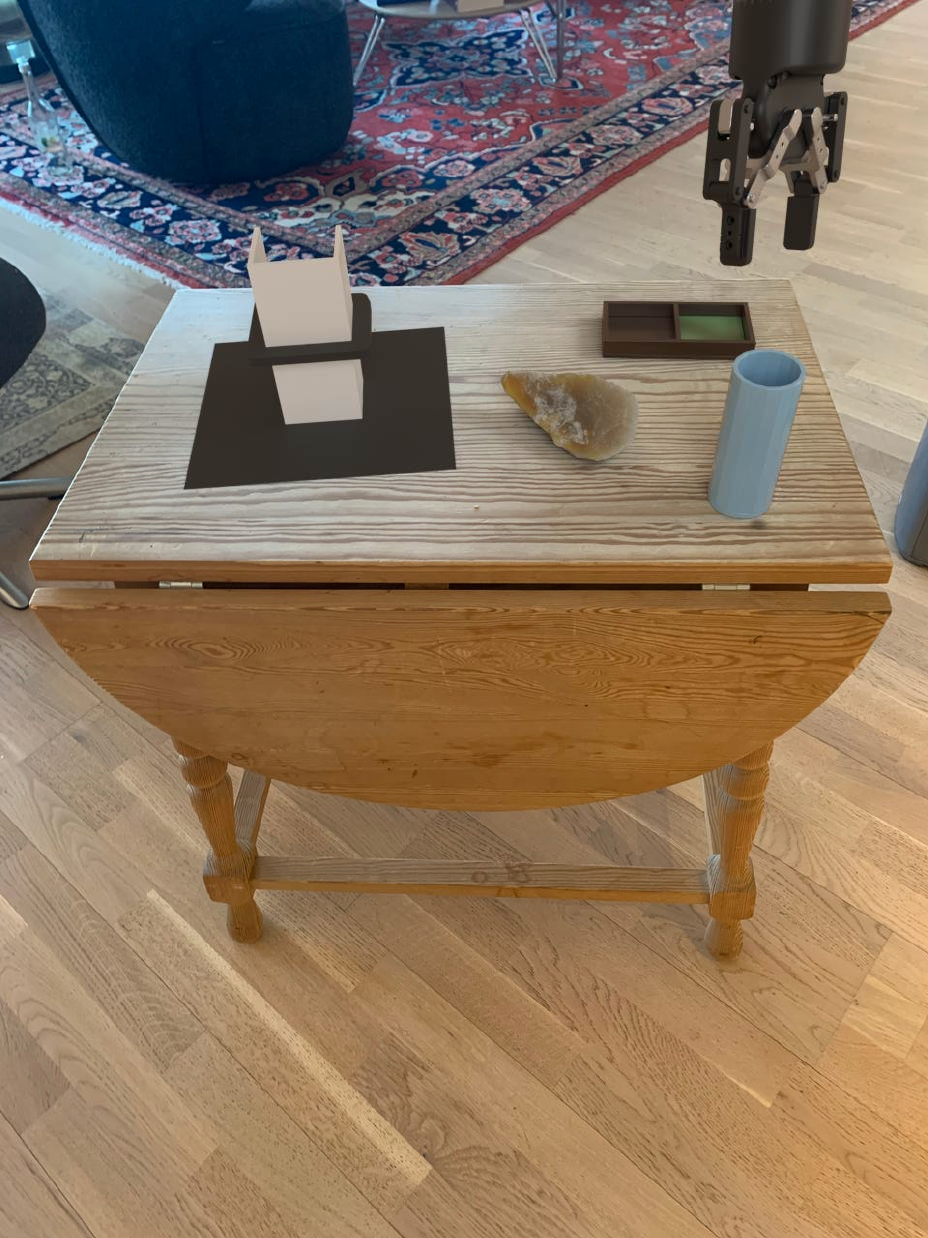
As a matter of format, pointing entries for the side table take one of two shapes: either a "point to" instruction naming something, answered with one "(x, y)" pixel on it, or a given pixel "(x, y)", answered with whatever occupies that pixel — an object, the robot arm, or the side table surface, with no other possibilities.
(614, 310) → the tray
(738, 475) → the cup
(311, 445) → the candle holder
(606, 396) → the stone
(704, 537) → the side table surface
